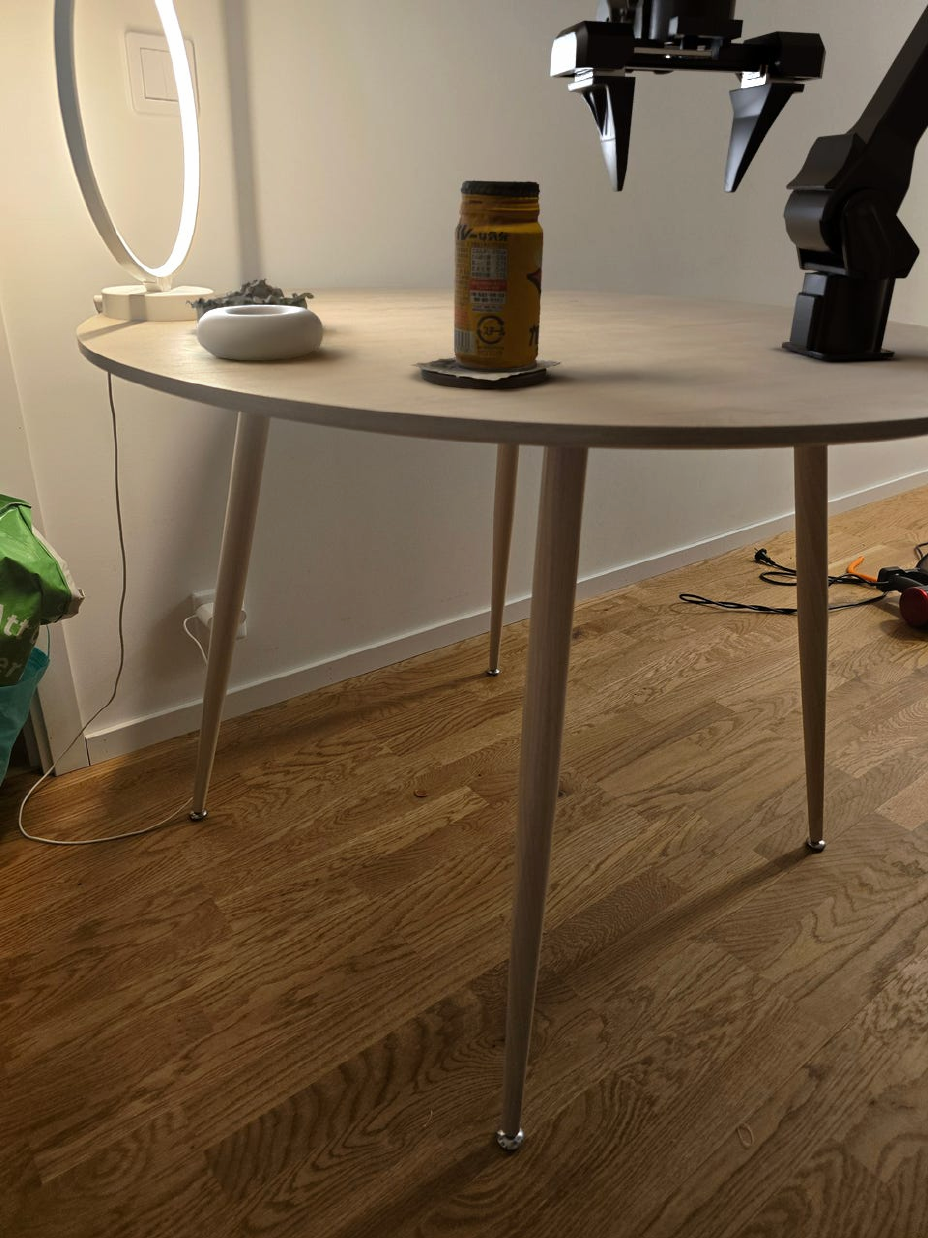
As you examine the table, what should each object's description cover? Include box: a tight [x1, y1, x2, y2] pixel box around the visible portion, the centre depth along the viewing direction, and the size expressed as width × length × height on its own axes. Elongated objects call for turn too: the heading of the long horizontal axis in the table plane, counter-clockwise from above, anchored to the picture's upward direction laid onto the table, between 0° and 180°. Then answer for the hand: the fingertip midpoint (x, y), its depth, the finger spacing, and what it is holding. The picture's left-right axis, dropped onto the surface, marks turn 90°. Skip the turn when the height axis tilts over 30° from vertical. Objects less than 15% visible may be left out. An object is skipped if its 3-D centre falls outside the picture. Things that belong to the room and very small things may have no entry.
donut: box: [195, 305, 324, 361], centre depth 71 cm, size 10×4×10 cm
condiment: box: [410, 179, 562, 380], centre depth 60 cm, size 7×8×12 cm
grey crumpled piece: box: [185, 278, 315, 324], centre depth 83 cm, size 11×8×4 cm
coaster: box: [420, 357, 547, 389], centre depth 63 cm, size 9×9×1 cm
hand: (674, 191), depth 66 cm, fingers open, 9 cm apart
